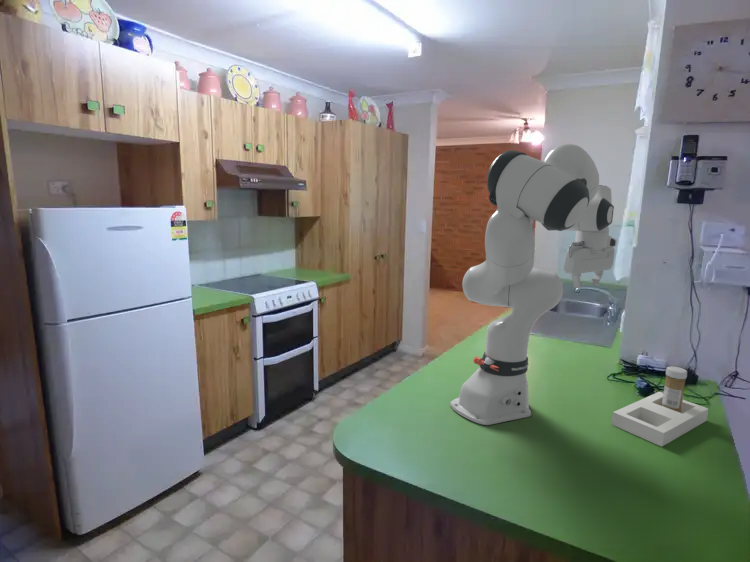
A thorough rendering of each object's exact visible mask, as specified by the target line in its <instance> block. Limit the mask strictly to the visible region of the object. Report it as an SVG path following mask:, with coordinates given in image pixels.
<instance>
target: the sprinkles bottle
mask: <svg viewBox="0 0 750 562" xmlns="http://www.w3.org/2000/svg"><path fill="white" fill-rule="evenodd" d="M687 377H688V371H687V370H686V369H685V368H681V367H678V366H667V367H666V370H665V382H664V388H663V393H664V394H663V401H662V406H663V407H666V408H669V409H671V410H674V411H677V412H680V413H681V407H682V402H683V400H684V390H685V385H686V379H687Z"/></svg>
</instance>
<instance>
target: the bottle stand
mask: <svg viewBox="0 0 750 562" xmlns="http://www.w3.org/2000/svg"><path fill="white" fill-rule="evenodd" d="M663 394H664V392H662V391H657V392H655V393H653V394H651V395H649V396H646V397H643V398H642V399H639V400H637V401H634V402H632V403H631V404H628V405H626V406H624V407H621V408H619V409H617V410H614V411H613V412H612V419H611V423H610V424H611V425H612V426H614V427H616V428H618V429H620V430H623V431H624V432H625V431H626V432H627V433H630V434H632V435H634V436H637V437H639V438H641V439H643V440H646V441H647V442H650V443H652V444H655V445H656V446H659V447H664V446H666V445H667V444H669V443H671V442H672V441H674V440H676V439H677V438H680V437H681V436H683V435H685V434H686V433H688V432H690V431H691V430H693V429H695V428H697V427H698V426H700V425H701V424H703V423H705V422H706V421H707V420H708V413H709V408H708V407H705V406H702V405H700V404H697V403H694V402H691V401H688V400H685V399H683V402H682V407H681V413H680V412H677V411H674V410H671V409H669V408H666V407H663V406H662V401H663Z"/></svg>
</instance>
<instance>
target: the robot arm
mask: <svg viewBox="0 0 750 562" xmlns="http://www.w3.org/2000/svg"><path fill="white" fill-rule="evenodd" d="M486 181H487V191H488V194H489V196H488V200H489V202H490V203H491V204H492V205H493V206H497V208H496V211H495V212H494V213H493V214H492V215H490V217H489V219H488V221H487V224H486V229H485V234H484V251H485V260H484V261H483V262H482V263H480V264H477V265H474V266H471V267H469V268H468V269H467V271H466V272H465V273H464V276H463V278H462V283H461V284H462V285H461V286H462V291H463V294H464V296H465V298H467V300H468V301H471V302H473V303H474V302H475V303H477V304H480V305H483V306H484V305H485V306H491V307H493V306H494V307H504V308H510V309H511V310H512V311H511V313H510V314H508V315H506V316H504V317H501V318H498V319H497V318H496V319H495V320H494V321H492V322H490V323H489V325H488V326H487V329H486V337H485V351H484V353H483V354H482V357H481V358H480V357H479V356H475V357H474V358H473V363H474V364H475V365H478V366H479V367H478V368H477V369H476V371H474V373H472V375H470V377H469V378H467V380H465V382H463V384H462V385H461V388H460V390H459V391H460V392H459V396H458V397H456V398H454V399H452V400H451V401H450V402H449V403H450V407H451V408H452V410H453V411H455V413H457V414H459V415H460V416H462V417H463V418H465V419H468V420H469V421H471V422H474V423H476V424H479V425H484V426H490V425H494V424H495V425H496V424H499V423H504V422H508V421H509V422H510V421H514V420H519V419H524V418H529V417H532V411H531V409H530V403H529V398H530V397H529V383H528V379H527V372H528V367H529V358H528V347H529V341H530V335H531V332H532V329H533V327H534V325H535V323H536V322H537V321H538V319H539V318H541V317H542V315H544V314H545V313H547V312H548V311H550V310H553V308H555V307H556V306H557V305H558V304H559V303H560V301H561V299H562V298H563V294H564V285H563V282H562V280H561V277H560V276H559V275H558V274H557V273H556V272H553V271H550V270H546V269H543V268H542V269H541V268H539V267H538V268H537V267H534V265H535V251H536V250H535V249H536V248H535V247H536V239H535V238H536V237H535V232H534V228H533V224H534V221H537V222H538V223H540V224H541V225H542V226H543V228H544V229H546V230H547V231H557V232H558V231H559V232H562V231H569V232H570V231H572V232H575V236H574V237H575V238H574V241H573V242H571V244H570V245H569V247H568V249H567V250H566V254H565V257H564V262H563V263H564V264H563V271H564V273H565V274H571V278H572V281H573V285H572V287H573V288H574V289H580V288H582V285H583V282H582V281H581V278H582V277H581V276H582V274H585V273H594V276H593V278H592V279H591V285H592V286H599V285H600V281H601V278H602V277H603V275H604V271H610V270H611V269H612V268H613V265H614V258H615V247H616V246H617V241H618V240H617V239H616V238H613V237H612V236H611V235H609V234H610V228H609V226H610V225H611V224H612V223H613V217H614V211H615V208H614V207H615V206H614V205H613V204H612V202H613V199H612V189H611V188H610V187H609V186H606V185H601V184H600V174H599V171H598V167H597V166H596V164H595V161H594V159H593V158H592V157H591V156H590V154H589V153H588V152H587V151H586V150H585V149H584V148H582V147H581V146H579V145H578V144H572V143H568V144H567V143H564V144H561V145H558V146H555V147H554V148H553V149H551V151H550V152H548V153H547V155H546V156H545V158H544V160H543V161H542V160H540V159H537V158H535V157H533V156H530V155H528V154H527V153H525V152H523V151H520V150H519V151H518V150H514V149H513V150H512V149H511V150H510V149H509V150H506V151H504V152H502V153H500V154H499V155H498V156H497V157H496V158H495V159H494V160H493V161H492V163H491V165H490V166H489V169H488V172H487V175H486Z"/></svg>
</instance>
